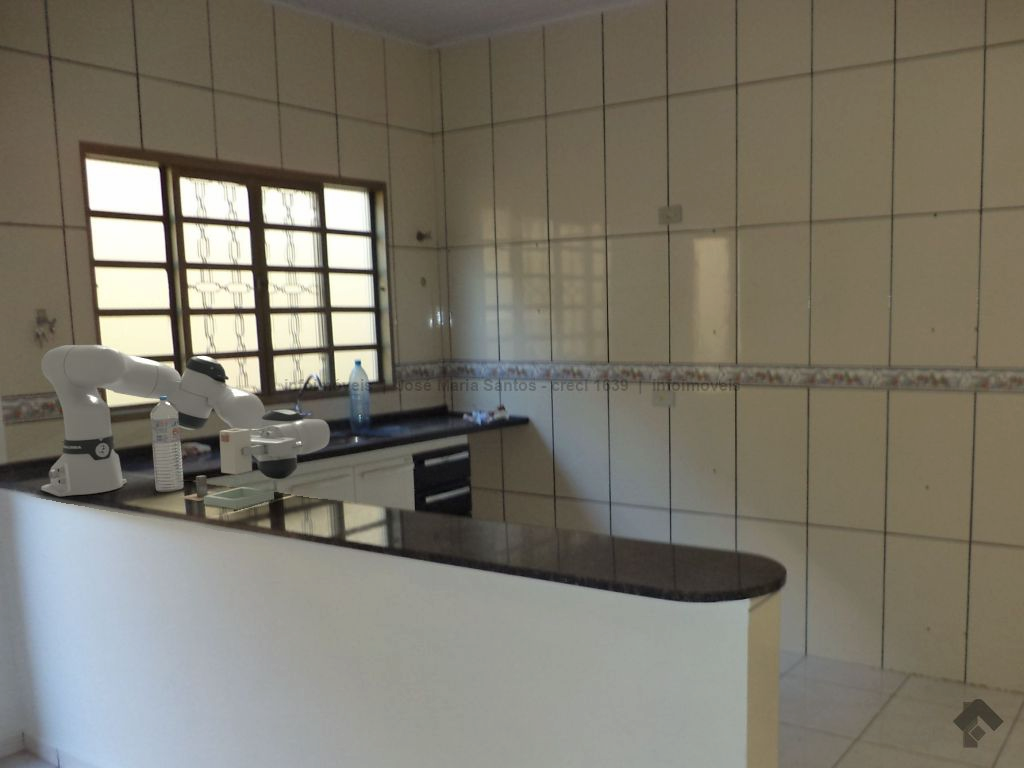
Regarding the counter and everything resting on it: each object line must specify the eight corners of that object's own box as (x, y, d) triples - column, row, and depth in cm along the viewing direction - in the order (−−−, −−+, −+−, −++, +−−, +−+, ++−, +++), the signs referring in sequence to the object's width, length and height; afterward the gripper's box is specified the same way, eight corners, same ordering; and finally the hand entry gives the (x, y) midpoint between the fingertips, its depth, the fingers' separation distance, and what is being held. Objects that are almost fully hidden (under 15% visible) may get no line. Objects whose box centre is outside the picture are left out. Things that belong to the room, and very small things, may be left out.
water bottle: (171, 487, 224) (164, 395, 222) (189, 489, 221) (182, 395, 219) (150, 492, 218) (142, 397, 216) (169, 494, 215) (161, 398, 213)
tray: (204, 506, 200) (203, 496, 200) (243, 496, 210) (242, 486, 210) (235, 511, 194) (235, 500, 194) (274, 500, 204) (273, 490, 203)
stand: (178, 500, 208) (177, 478, 208) (205, 493, 215) (204, 472, 214) (199, 503, 204) (197, 480, 203) (226, 496, 211) (224, 474, 210)
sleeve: (218, 472, 199) (216, 431, 198) (238, 469, 204) (236, 428, 203) (231, 474, 197) (230, 432, 196) (252, 470, 201) (250, 429, 201)
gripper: (308, 457, 206) (264, 467, 195) (252, 451, 217) (207, 461, 206) (307, 431, 206) (263, 440, 194) (251, 427, 217) (206, 435, 205)
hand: (234, 450), depth 200 cm, fingers closed on sleeve, 5 cm apart
